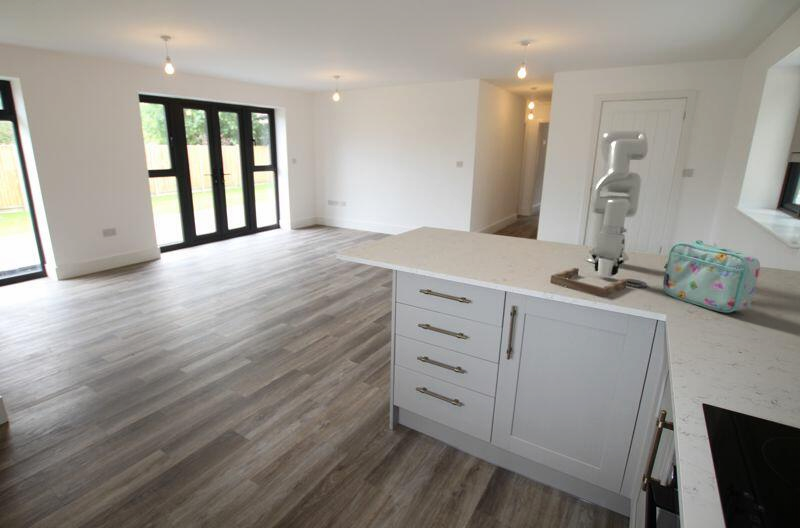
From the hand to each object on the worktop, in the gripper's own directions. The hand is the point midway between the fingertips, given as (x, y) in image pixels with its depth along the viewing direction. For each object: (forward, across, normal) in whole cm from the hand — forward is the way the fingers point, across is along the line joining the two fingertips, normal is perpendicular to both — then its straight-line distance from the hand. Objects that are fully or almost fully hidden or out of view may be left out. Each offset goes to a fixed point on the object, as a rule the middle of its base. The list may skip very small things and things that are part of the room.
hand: (605, 272), depth 169 cm
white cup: (+1, 0, 0) cm, 1 cm away
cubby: (+3, 0, +14) cm, 14 cm away
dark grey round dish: (+3, -11, -1) cm, 11 cm away
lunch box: (+3, -34, +2) cm, 34 cm away
